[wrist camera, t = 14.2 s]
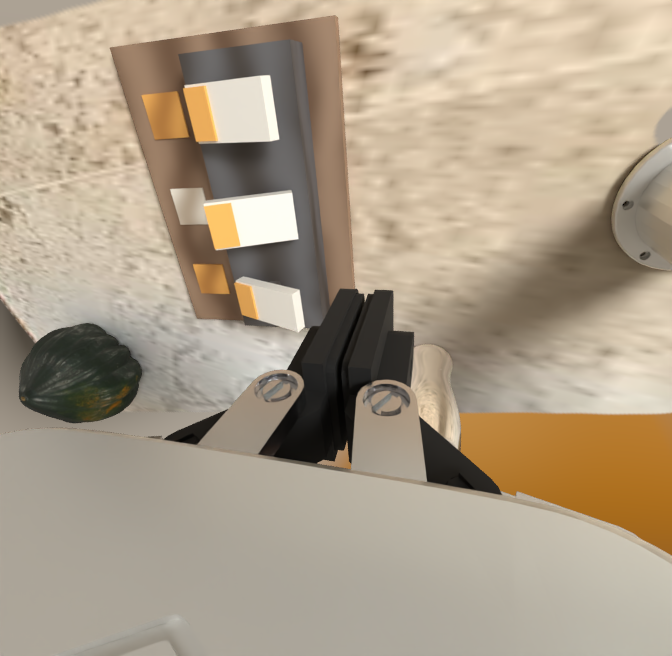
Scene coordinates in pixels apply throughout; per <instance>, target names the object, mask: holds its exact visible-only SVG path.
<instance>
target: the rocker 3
mask: <svg viewBox="0 0 672 656" xmlns="http://www.w3.org/2000/svg"><path fill="white" fill-rule="evenodd" d="M234 285H235V289H236V293H237V297H238V301H239V305H240V309H241V313H242V315H244V316H247V317H250V318H254V319H257V320H260V321H263V322H267V323H270V324H273V325H276V326H279V327H283V328H286V329H289V330H292V331H295V332H299V331H300V330H302V329H303V328H304V327H305V324H304V317H303V310H302V304H301V297H300V290H298V289H294V288H290V287H286V286H282V285H277V284H273V283H269V282H265V281H261V280H257V279H252V278H248V277H244V276H243V277H241V278H239V279H237V280H236V282H235V283H234Z"/></svg>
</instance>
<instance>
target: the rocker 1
mask: <svg viewBox="0 0 672 656" xmlns="http://www.w3.org/2000/svg"><path fill="white" fill-rule="evenodd" d="M184 86H185V88H183V91H184V95H185V99H186V103H187V107H188V111H189V115H190V119H191V123H192V127H193V131H194V135H195V139H196V142H199V144H206V143H237V142H269V141H274V140H279V134H278V127H277V120H276V113H275V106H274V99H273V93H272V86H271V79H270V75H263V76H253V77H245V78H238V79H230V80H222V81H215V82H207V83H199V84H191V85H184Z"/></svg>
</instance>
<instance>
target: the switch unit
mask: <svg viewBox="0 0 672 656" xmlns="http://www.w3.org/2000/svg"><path fill="white" fill-rule="evenodd" d="M110 50H111V53H112V56H113V59H114V63H115V66H116V69H117V72H118V75H119V78H120V81H121V84H122V87H123V90H124V93H125V97H126V100H127V103H128V106H129V109H130V112H131V115H132V118H133V121H134V124H135V128H136V131H137V134H138V137H139V140H140V143H141V146H142V149H143V152H144V155H145V159H146V162H147V165H148V168H149V171H150V174H151V177H152V180H153V183H154V186H155V189H156V193H157V196H158V199H159V202H160V205H161V208H162V211H163V214H164V217H165V220H166V224H167V227H168V230H169V233H170V236H171V239H172V242H173V245H174V248H175V251H176V255H177V258H178V261H179V264H180V267H181V270H182V273H183V276H184V279H185V282H186V285H187V289H188V292H189V295H190V298H191V301H192V304H193V307H194V310H195V313H196V316H197V318H201V319H223V320H244V323H245V325H254V326H275V327H279V326H276V325H273V324H270V323H267V322H263V321H260V320H257V319H254V318H250V317H247V316H244V315H242V313H241V309H240V305H239V301H238V297H237V293H236V289H235V285H234V283H235V282H236V280H237V279H239V278H241V277H243V276H244V277H248V278H252V279H257V280H261V281H265V282H269V283H273V284H277V285H282V286H286V287H290V288H294V289H298V290H300V297H301V304H302V310H303V317H304V324H305V327H304V328H311V327H312V326H320V325H321V324H322V322H323V320H324V318H325V316H326V314H327V312H328V310H329V308H330V306H331V304H332V303H333V301H334V299H335V297H336V295H337V293H338V291H339V289H340V288H341V289H355V282H354V266H353V250H352V234H351V218H350V202H349V186H348V170H347V154H346V138H345V123H344V107H343V91H342V75H341V59H340V43H339V27H338V17H336V16H335V15H334V16H328V17H321V18H314V19H307V20H300V21H293V22H286V23H279V24H272V25H265V26H258V27H251V28H244V29H237V30H230V31H223V32H216V33H209V34H202V35H195V36H188V37H181V38H174V39H167V40H160V41H153V42H146V43H139V44H132V45H125V46H118V47H111V48H110ZM263 75H270V79H271V86H272V93H273V99H274V106H275V113H276V120H277V127H278V134H279V140H274V141H269V142H237V143H206V144H199V142H196V139H195V135H194V131H193V127H192V123H191V119H190V115H189V111H188V107H187V103H186V99H185V95H184V91H183V88H185V86H184V85H191V84H199V83H207V82H215V81H222V80H230V79H238V78H245V77H253V76H263ZM287 190H291V191H292V196H293V203H294V210H295V217H296V224H297V232H298V239H295V240H288V241H281V242H274V243H266V244H259V245H252V246H245V247H237V248H230V249H223V250H216V249H215V247H214V244H213V240H212V236H211V232H210V228H209V225H208V221H207V217H206V213H205V210H204V202H205V201H207V200H215V199H223V198H231V197H239V196H247V195H255V194H263V193H271V192H279V191H287Z"/></svg>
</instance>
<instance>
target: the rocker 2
mask: <svg viewBox="0 0 672 656" xmlns="http://www.w3.org/2000/svg"><path fill="white" fill-rule="evenodd" d="M204 210H205V213H206V217H207V221H208V225H209V228H210V232H211V236H212V240H213V244H214V247H215V249H216V250H223V249H230V248H237V247H245V246H252V245H259V244H266V243H274V242H281V241H288V240H295V239H298V232H297V224H296V217H295V210H294V203H293V196H292V191H291V190H287V191H279V192H271V193H263V194H255V195H247V196H239V197H231V198H223V199H215V200H207V201H205V202H204Z"/></svg>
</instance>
